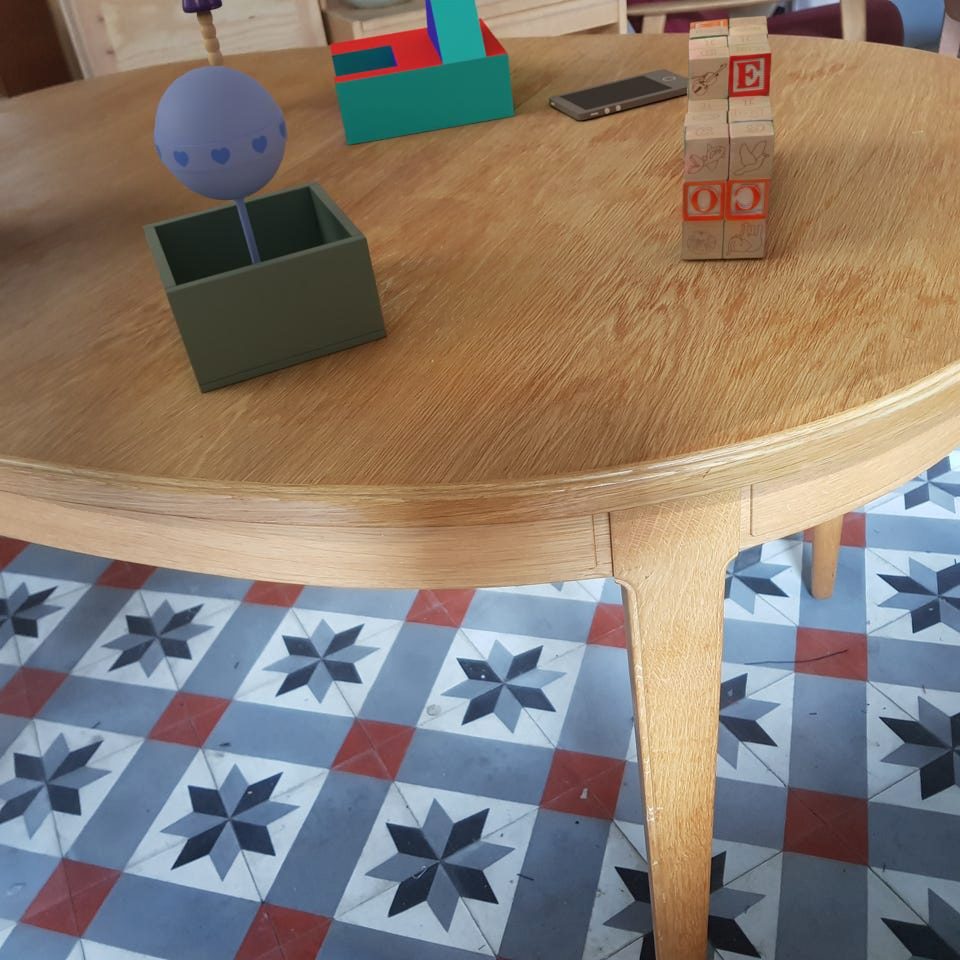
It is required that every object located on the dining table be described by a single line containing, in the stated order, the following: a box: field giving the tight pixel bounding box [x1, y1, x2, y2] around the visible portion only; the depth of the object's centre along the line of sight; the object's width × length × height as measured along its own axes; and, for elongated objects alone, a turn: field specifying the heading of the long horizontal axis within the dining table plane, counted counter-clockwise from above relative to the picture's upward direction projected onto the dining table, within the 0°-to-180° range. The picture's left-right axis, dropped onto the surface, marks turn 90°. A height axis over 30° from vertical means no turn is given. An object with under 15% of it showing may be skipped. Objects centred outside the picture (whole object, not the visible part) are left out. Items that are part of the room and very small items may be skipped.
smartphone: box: [548, 68, 688, 121], centre depth 105 cm, size 15×8×1 cm, turn 111°
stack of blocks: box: [681, 15, 776, 260], centre depth 75 cm, size 21×6×12 cm, turn 169°
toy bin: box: [142, 180, 388, 394], centre depth 70 cm, size 14×14×8 cm
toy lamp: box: [181, 0, 226, 67], centre depth 114 cm, size 5×5×17 cm
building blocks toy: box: [329, 0, 515, 146], centre depth 110 cm, size 19×25×18 cm
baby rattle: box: [153, 65, 288, 264], centre depth 66 cm, size 9×9×18 cm
